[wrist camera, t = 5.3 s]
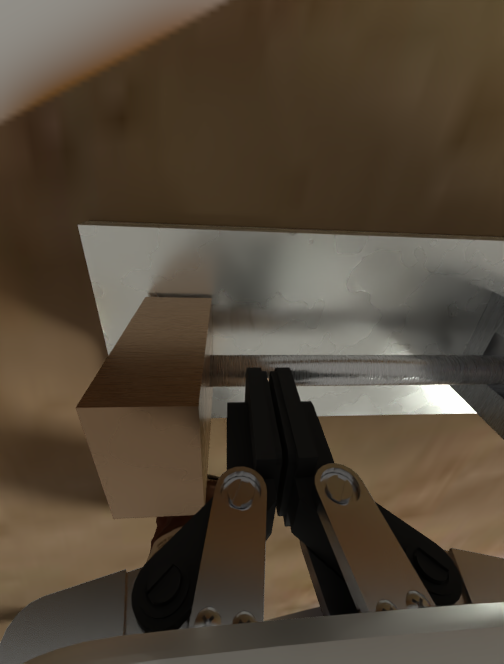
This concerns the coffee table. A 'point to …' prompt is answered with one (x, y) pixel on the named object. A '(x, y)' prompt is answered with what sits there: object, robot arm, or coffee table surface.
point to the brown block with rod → (208, 400)
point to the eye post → (317, 301)
